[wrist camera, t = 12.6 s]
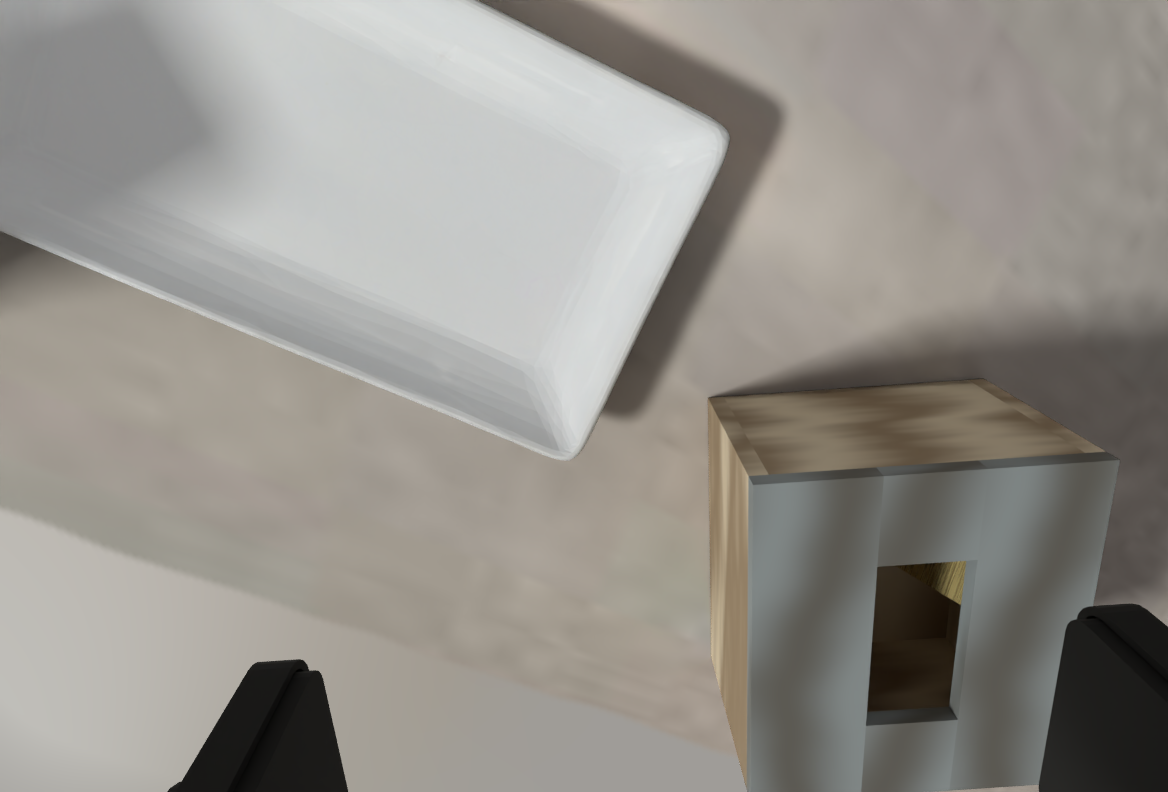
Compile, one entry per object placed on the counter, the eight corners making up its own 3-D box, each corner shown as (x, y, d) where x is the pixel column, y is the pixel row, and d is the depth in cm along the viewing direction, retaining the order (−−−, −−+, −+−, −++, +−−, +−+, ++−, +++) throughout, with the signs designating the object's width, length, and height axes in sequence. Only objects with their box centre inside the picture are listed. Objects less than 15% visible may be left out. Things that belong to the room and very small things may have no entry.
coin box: (983, 378, 38) (1120, 460, 29) (953, 641, 43) (1060, 783, 34) (708, 397, 38) (752, 484, 29) (711, 657, 43) (750, 803, 34)
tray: (23, -224, 29) (-46, -269, 26) (727, 132, 34) (743, 131, 31) (-51, 181, 34) (-117, 186, 31) (573, 442, 39) (573, 471, 36)
